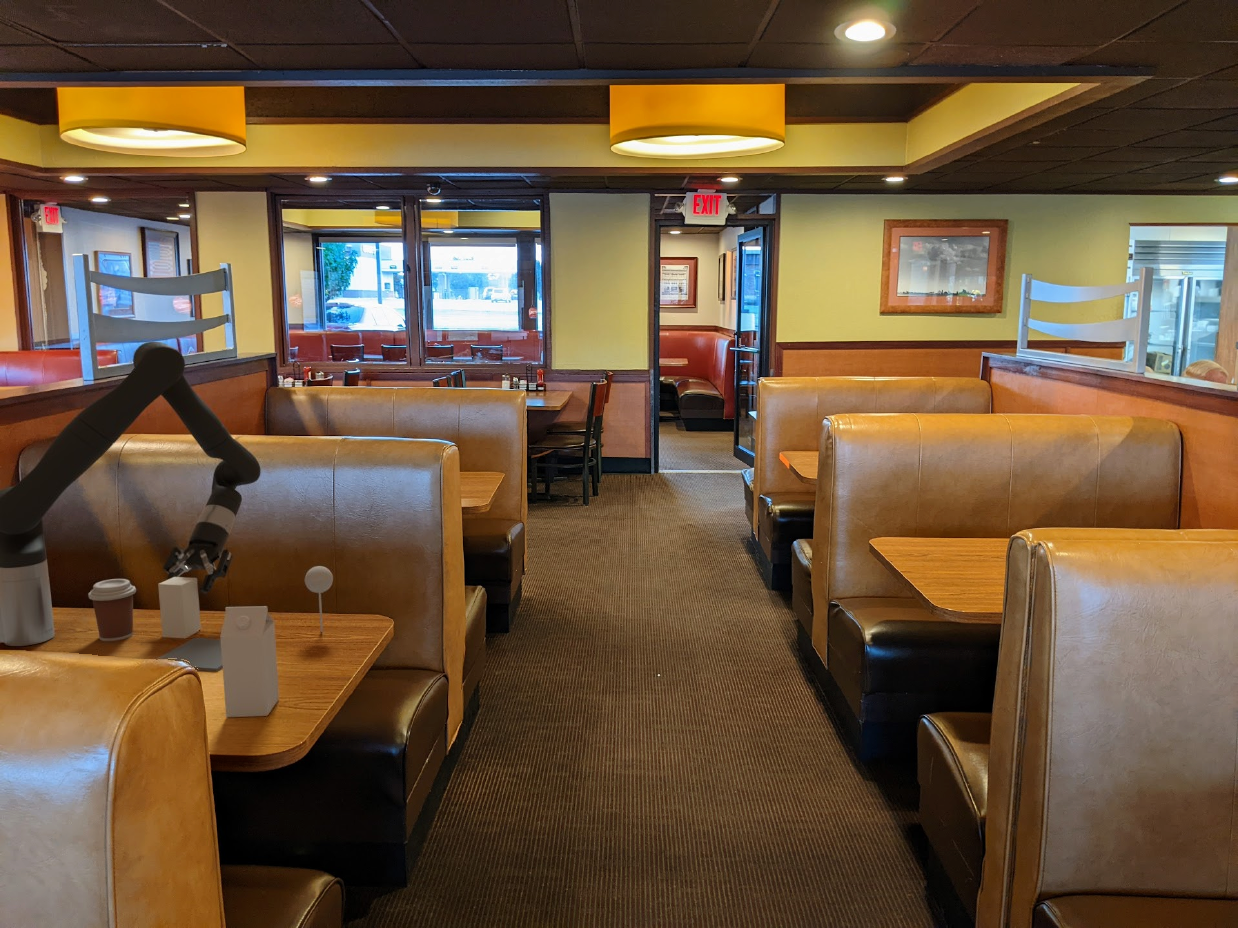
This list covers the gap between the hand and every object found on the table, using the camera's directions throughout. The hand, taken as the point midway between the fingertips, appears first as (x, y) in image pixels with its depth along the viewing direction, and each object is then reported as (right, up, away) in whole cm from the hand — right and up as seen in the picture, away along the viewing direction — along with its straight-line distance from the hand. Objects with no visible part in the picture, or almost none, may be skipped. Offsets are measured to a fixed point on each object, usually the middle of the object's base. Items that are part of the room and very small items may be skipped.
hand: (185, 591), depth 201 cm
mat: (+11, -11, -14) cm, 21 cm away
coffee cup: (-14, -10, -3) cm, 17 cm away
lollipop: (+30, -9, 0) cm, 32 cm away
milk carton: (+31, -16, -39) cm, 52 cm away
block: (0, -9, -1) cm, 9 cm away
